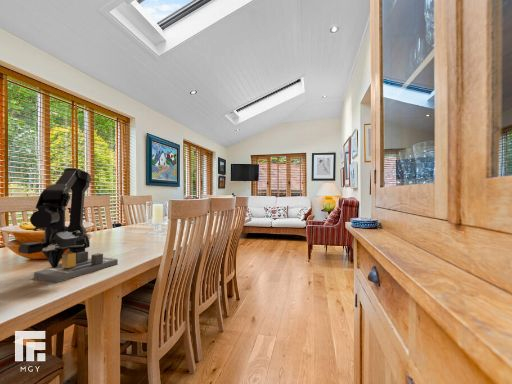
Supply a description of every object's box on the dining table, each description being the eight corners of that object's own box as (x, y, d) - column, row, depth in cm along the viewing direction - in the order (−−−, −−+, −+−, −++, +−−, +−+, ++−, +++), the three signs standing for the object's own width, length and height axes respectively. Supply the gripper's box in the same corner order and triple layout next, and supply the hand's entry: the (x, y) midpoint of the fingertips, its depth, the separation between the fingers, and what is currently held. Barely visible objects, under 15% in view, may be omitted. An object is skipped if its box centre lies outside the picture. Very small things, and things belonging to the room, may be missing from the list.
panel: (34, 277, 90) (34, 261, 90) (97, 260, 113) (97, 248, 113) (56, 282, 86) (56, 265, 86) (117, 263, 108) (117, 250, 108)
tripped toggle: (62, 267, 95) (62, 253, 95) (70, 265, 97) (70, 252, 97) (67, 268, 94) (67, 254, 94) (75, 266, 96) (75, 252, 96)
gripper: (39, 229, 79) (38, 279, 79) (95, 222, 97) (95, 263, 97) (17, 226, 83) (17, 274, 83) (75, 220, 101) (75, 260, 101)
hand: (54, 267), depth 91 cm, fingers closed
